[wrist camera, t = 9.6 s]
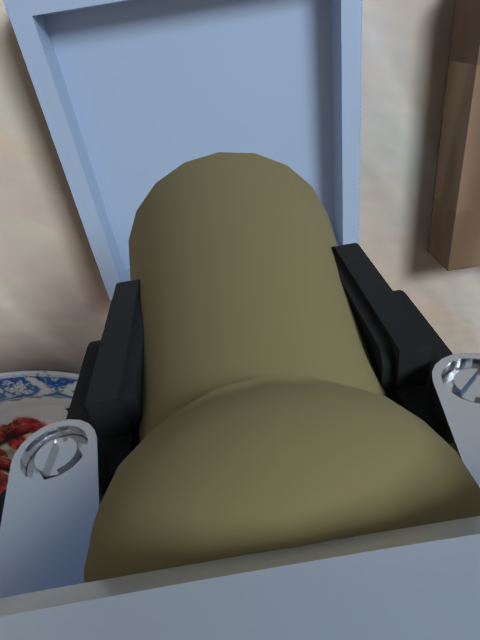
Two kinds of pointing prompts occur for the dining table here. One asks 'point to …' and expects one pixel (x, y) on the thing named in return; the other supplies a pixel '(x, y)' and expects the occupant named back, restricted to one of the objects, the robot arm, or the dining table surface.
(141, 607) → the robot arm
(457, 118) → the walnut collar
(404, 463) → the olive pawn
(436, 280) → the dining table surface
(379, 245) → the dining table surface
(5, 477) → the ceramic plate
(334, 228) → the slate tray
